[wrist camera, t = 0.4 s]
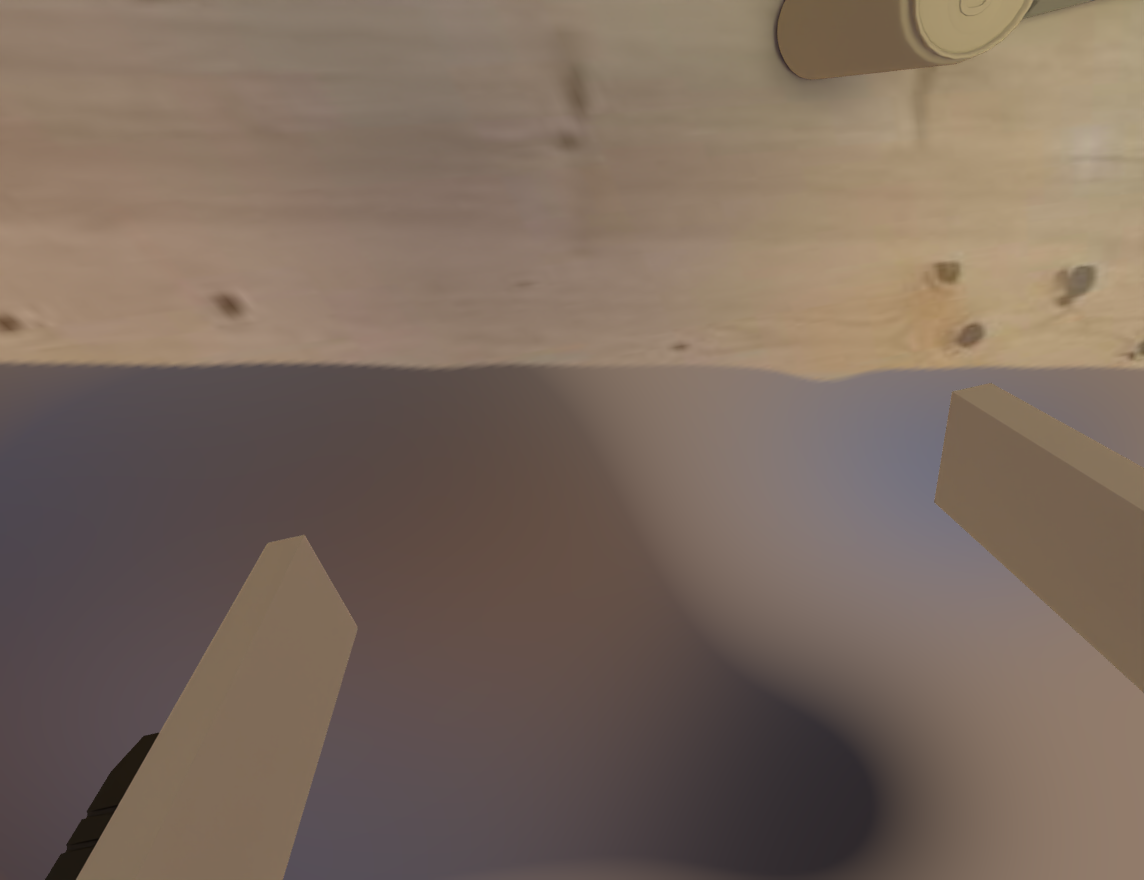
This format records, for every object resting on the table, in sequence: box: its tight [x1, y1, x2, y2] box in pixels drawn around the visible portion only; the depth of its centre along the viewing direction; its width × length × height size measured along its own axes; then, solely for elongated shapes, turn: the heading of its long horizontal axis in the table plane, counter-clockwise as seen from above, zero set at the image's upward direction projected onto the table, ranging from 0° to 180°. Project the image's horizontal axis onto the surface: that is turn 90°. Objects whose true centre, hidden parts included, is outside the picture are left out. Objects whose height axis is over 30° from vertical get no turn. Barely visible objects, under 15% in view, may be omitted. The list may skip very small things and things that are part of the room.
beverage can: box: [777, 0, 1033, 80], centre depth 25 cm, size 5×5×12 cm
